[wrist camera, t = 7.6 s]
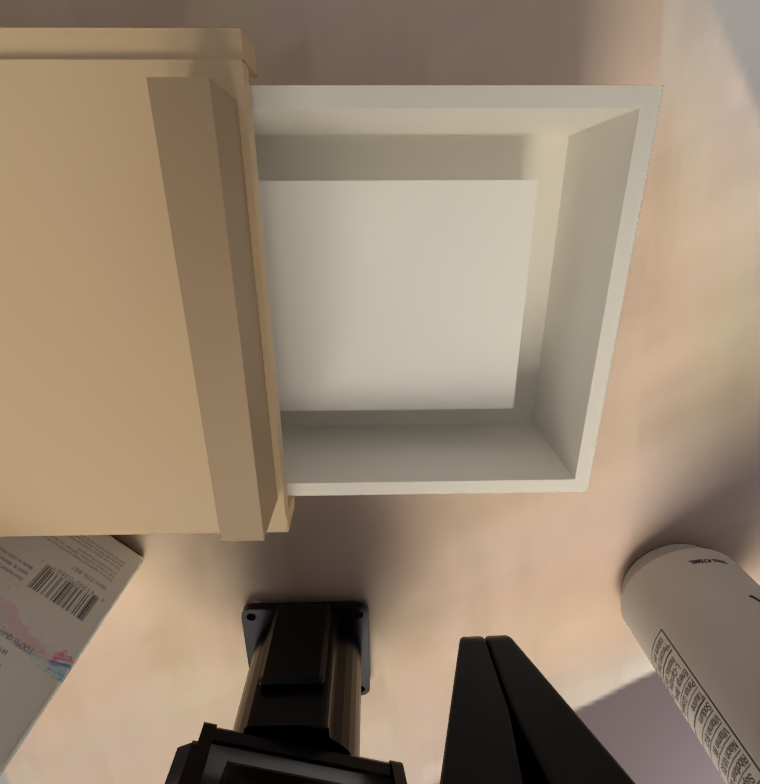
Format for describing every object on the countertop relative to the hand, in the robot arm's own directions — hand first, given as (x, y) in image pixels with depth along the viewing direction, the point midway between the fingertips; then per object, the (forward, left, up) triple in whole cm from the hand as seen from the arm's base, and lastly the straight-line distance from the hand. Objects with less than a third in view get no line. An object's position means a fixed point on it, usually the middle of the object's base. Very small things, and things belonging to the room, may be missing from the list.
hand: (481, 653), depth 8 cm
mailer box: (+4, +1, -13) cm, 13 cm away
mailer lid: (+4, +12, -9) cm, 15 cm away
